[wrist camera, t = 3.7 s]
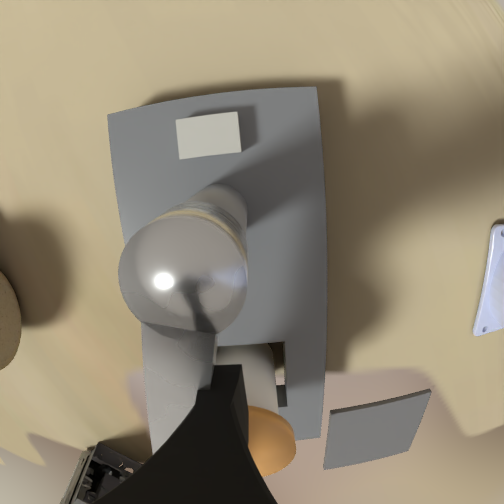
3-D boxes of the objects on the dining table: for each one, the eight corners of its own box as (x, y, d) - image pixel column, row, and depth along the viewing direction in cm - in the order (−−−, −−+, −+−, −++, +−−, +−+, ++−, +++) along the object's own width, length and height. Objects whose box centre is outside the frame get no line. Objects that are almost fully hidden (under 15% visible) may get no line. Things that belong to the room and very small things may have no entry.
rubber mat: (429, 388, 19) (431, 391, 18) (406, 447, 21) (408, 450, 21) (330, 410, 19) (331, 414, 19) (323, 466, 22) (323, 469, 21)
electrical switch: (82, 450, 22) (52, 519, 13) (95, 426, 21) (60, 505, 12) (165, 490, 24) (154, 561, 15) (187, 471, 23) (179, 553, 14)
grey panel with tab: (308, 94, 13) (355, 48, 6) (316, 416, 19) (332, 500, 12) (124, 118, 13) (36, 102, 7) (189, 423, 20) (173, 506, 13)
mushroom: (281, 320, 17) (296, 414, 10) (284, 384, 18) (295, 475, 12) (195, 326, 17) (168, 418, 10) (209, 388, 18) (195, 478, 12)
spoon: (255, 208, 7) (256, 228, 6) (215, 482, 11) (211, 516, 9) (151, 195, 7) (119, 210, 5) (159, 472, 11) (151, 506, 9)
